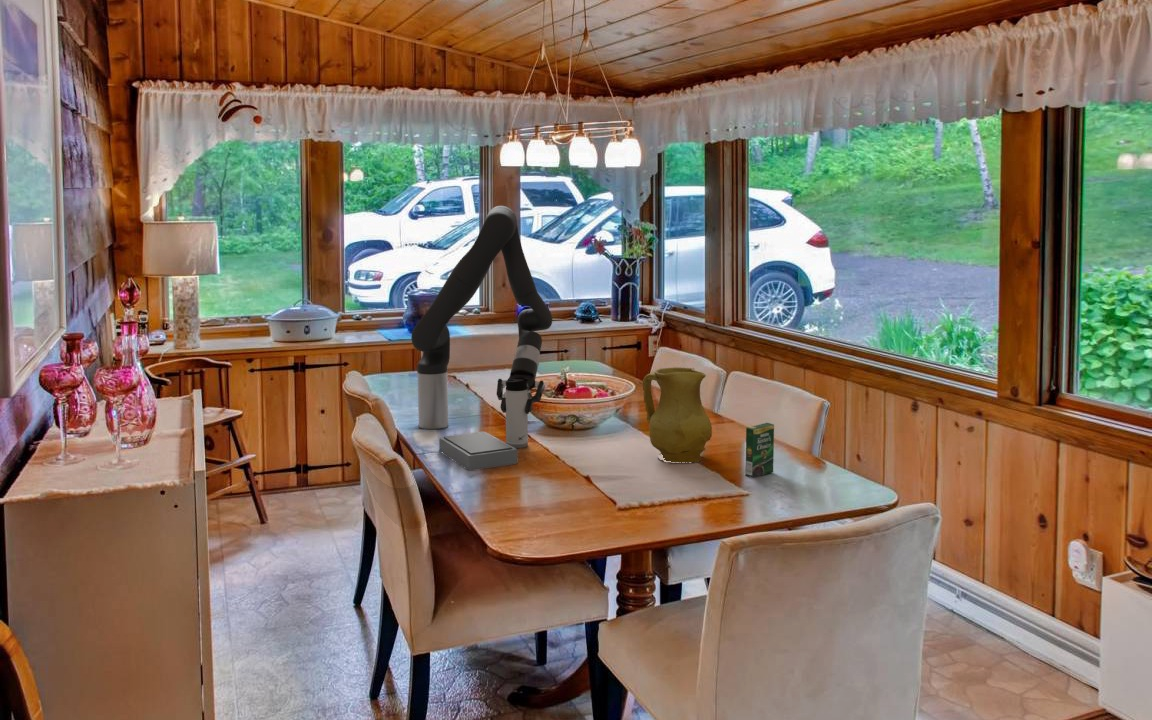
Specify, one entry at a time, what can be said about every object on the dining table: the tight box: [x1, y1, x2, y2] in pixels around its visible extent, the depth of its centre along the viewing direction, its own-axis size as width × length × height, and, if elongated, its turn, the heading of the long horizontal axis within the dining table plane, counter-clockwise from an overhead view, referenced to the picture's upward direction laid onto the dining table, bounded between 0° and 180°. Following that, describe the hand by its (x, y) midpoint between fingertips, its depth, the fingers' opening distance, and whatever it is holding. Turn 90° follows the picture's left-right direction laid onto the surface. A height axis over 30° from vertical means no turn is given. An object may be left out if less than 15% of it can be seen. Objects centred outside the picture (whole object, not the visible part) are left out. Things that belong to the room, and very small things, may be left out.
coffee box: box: [744, 422, 775, 479], centre depth 255 cm, size 8×3×13 cm, turn 126°
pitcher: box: [642, 366, 713, 464], centre depth 271 cm, size 17×19×25 cm
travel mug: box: [505, 378, 529, 449], centre depth 283 cm, size 6×7×20 cm
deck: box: [438, 431, 518, 472], centre depth 272 cm, size 22×14×4 cm, turn 28°
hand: (515, 411), depth 281 cm, fingers closed on travel mug, 6 cm apart
